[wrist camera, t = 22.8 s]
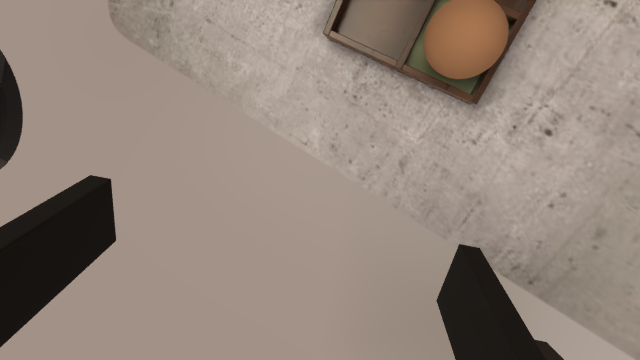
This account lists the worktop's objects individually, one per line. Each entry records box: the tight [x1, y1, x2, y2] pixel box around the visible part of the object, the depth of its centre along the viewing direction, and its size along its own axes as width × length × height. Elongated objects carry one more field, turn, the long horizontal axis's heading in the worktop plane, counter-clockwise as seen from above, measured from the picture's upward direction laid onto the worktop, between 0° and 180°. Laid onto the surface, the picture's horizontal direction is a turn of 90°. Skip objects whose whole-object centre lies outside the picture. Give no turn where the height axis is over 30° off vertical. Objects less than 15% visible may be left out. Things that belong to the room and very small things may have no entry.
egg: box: [423, 0, 509, 79], centre depth 29 cm, size 6×6×8 cm
